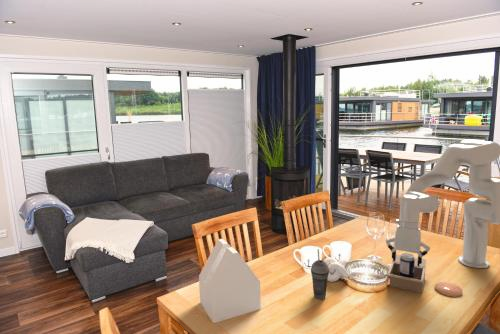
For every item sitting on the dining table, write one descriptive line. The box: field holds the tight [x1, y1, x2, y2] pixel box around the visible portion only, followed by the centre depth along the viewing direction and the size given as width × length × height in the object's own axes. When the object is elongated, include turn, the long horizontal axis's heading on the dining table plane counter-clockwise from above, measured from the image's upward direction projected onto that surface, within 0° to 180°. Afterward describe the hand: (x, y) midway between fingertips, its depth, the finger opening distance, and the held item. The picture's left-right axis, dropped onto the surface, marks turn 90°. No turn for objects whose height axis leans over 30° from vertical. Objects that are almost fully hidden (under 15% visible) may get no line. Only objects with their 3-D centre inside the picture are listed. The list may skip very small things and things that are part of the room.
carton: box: [385, 254, 427, 293], centre depth 154 cm, size 23×14×7 cm, turn 150°
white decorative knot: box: [323, 257, 350, 282], centre depth 158 cm, size 11×12×9 cm
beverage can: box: [398, 252, 415, 279], centre depth 154 cm, size 6×6×12 cm
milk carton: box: [198, 238, 262, 324], centre depth 138 cm, size 19×15×25 cm
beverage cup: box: [310, 248, 329, 301], centre depth 143 cm, size 7×7×20 cm
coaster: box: [434, 281, 463, 298], centre depth 147 cm, size 10×10×1 cm
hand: (406, 262), depth 153 cm, fingers open, 9 cm apart
